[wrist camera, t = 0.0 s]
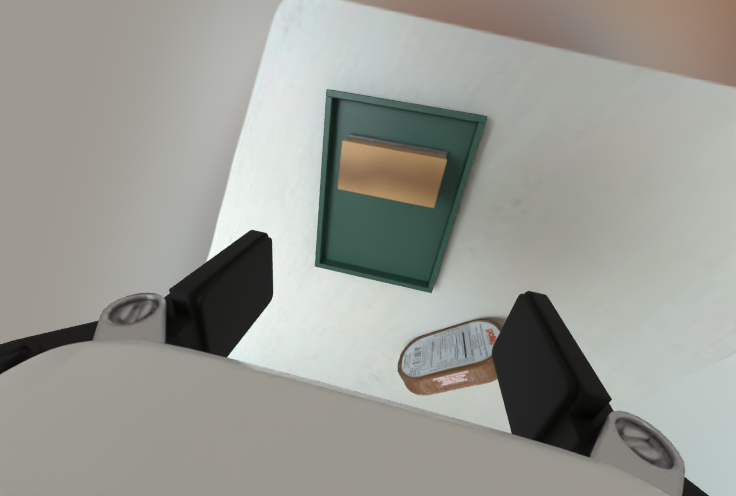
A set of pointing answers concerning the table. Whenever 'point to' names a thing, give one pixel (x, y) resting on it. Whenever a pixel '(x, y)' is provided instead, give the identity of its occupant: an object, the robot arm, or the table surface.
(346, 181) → the eraser
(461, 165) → the tray
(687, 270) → the table surface
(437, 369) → the tin
